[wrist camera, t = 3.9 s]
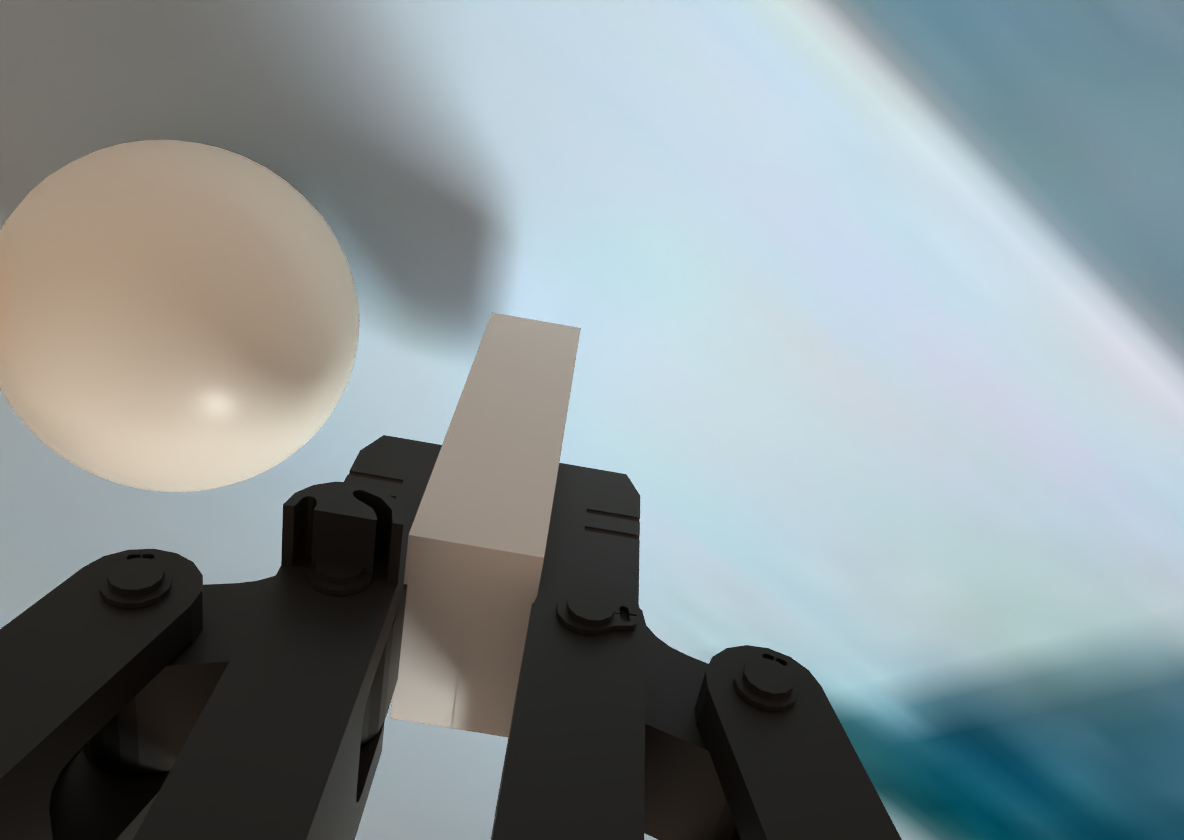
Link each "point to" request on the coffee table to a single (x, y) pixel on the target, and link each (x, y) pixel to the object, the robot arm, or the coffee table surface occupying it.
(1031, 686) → the coffee table surface
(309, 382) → the cue ball
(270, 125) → the coffee table surface
